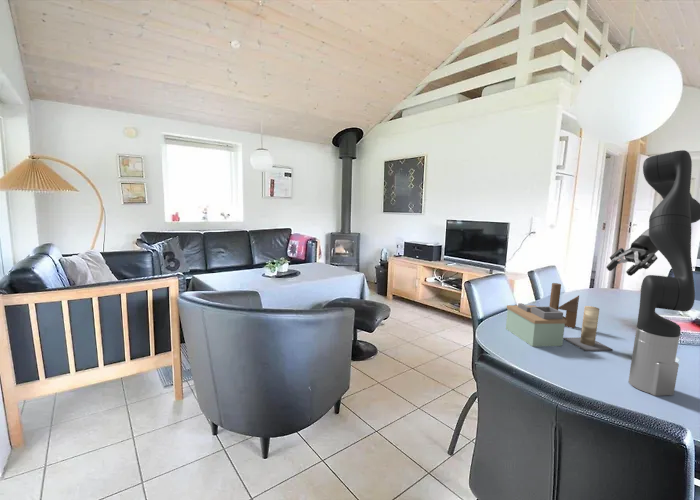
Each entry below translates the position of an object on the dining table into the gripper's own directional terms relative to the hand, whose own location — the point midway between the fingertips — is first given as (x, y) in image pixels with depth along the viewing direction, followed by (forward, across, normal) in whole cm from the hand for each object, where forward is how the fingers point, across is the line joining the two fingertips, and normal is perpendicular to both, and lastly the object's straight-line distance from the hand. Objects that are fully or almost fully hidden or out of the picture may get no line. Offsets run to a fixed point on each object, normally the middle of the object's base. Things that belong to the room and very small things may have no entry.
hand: (617, 271), depth 127 cm
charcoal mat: (+26, 0, +14) cm, 30 cm away
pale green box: (+38, -8, +2) cm, 39 cm away
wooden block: (+22, -22, +19) cm, 36 cm away
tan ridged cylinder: (+26, 0, +14) cm, 29 cm away
